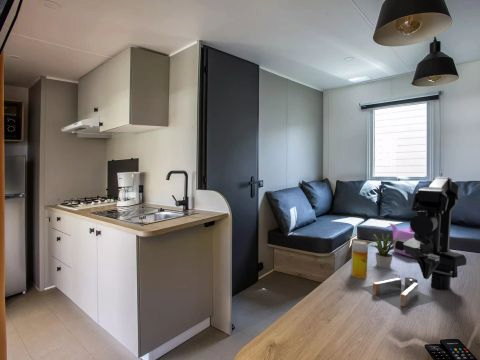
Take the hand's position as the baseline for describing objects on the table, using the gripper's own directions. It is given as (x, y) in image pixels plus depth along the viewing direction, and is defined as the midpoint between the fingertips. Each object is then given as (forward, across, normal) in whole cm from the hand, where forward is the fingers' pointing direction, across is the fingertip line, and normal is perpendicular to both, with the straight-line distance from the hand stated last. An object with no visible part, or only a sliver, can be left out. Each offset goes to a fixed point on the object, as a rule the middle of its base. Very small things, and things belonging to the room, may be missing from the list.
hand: (426, 278), depth 87 cm
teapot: (+12, -44, +55) cm, 71 cm away
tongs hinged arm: (+11, -10, +4) cm, 15 cm away
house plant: (+12, -33, +23) cm, 42 cm away
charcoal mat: (+12, -12, +4) cm, 18 cm away
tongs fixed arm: (+11, -15, +1) cm, 18 cm away
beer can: (+12, -30, +4) cm, 33 cm away
